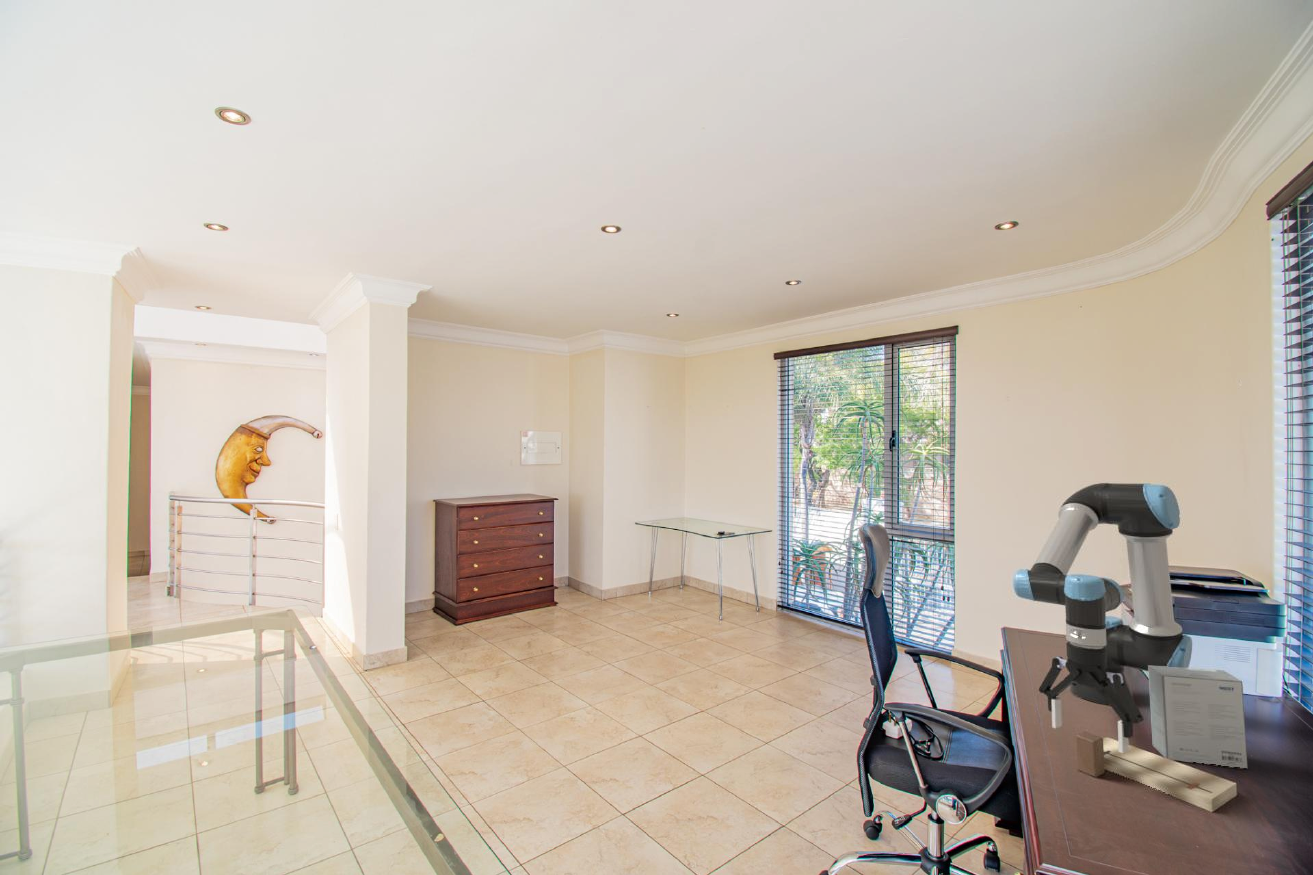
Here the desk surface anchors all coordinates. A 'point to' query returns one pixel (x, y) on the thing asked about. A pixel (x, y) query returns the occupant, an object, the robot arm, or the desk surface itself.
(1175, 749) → the hard drive box
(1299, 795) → the desk surface
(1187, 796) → the birch board
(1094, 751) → the wooden block
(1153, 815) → the desk surface
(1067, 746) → the desk surface
